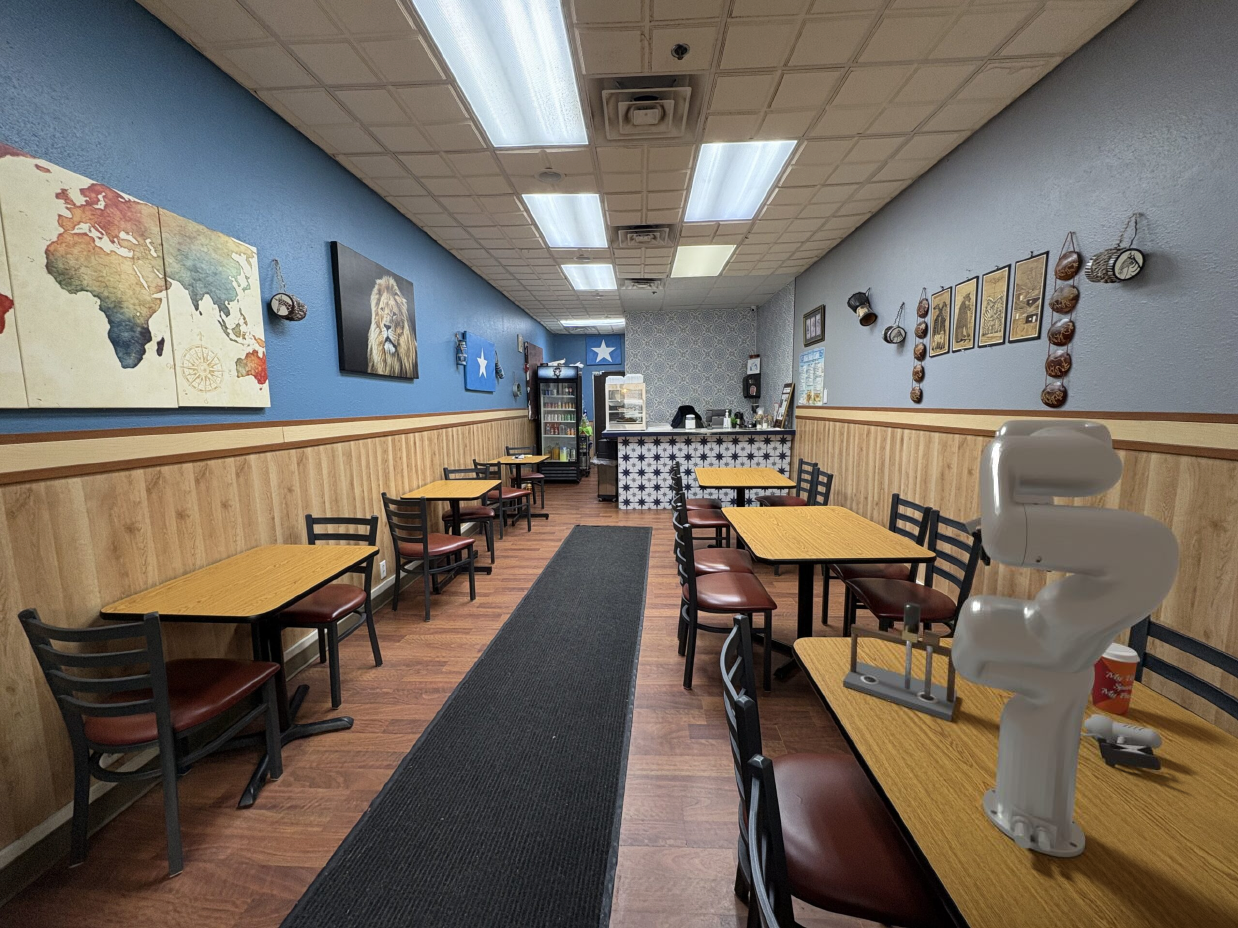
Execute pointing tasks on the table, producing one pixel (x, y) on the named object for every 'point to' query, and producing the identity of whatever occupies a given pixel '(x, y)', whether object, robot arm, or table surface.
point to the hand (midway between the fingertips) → (1015, 566)
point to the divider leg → (910, 636)
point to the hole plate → (901, 690)
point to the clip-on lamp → (1119, 752)
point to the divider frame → (927, 644)
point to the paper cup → (1114, 679)
